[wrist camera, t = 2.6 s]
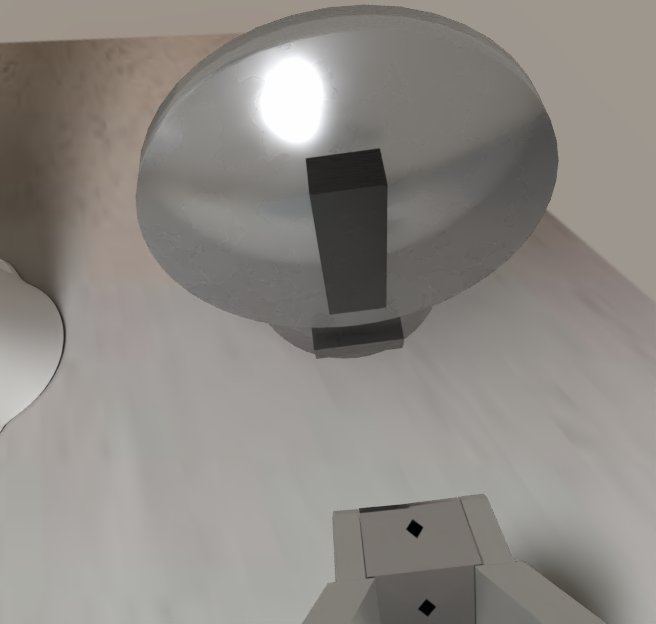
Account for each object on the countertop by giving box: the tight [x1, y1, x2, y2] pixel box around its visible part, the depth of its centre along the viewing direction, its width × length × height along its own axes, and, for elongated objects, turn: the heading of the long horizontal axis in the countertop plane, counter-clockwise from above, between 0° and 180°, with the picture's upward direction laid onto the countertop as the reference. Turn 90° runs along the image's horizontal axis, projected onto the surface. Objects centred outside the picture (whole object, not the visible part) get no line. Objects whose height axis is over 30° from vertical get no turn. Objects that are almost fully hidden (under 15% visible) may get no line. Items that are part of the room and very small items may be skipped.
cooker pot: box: [269, 306, 432, 359], centre depth 45 cm, size 27×21×12 cm
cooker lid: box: [136, 5, 558, 328], centre depth 25 cm, size 19×19×4 cm
